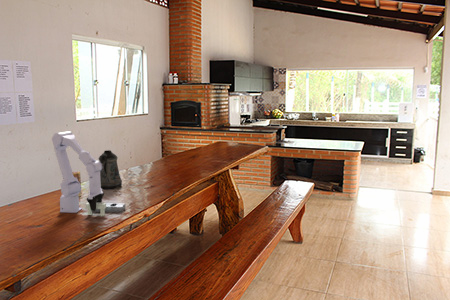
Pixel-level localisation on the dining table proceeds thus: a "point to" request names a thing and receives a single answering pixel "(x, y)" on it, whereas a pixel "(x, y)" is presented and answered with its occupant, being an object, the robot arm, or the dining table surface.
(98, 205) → the notched cream block
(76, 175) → the candy box
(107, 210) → the grey block with holes
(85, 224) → the dining table surface
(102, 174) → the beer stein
